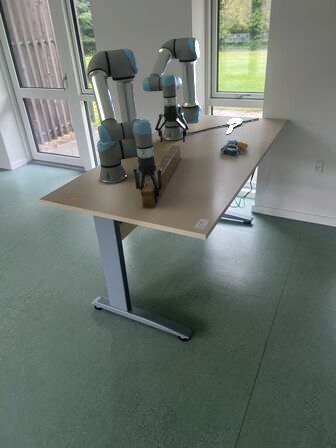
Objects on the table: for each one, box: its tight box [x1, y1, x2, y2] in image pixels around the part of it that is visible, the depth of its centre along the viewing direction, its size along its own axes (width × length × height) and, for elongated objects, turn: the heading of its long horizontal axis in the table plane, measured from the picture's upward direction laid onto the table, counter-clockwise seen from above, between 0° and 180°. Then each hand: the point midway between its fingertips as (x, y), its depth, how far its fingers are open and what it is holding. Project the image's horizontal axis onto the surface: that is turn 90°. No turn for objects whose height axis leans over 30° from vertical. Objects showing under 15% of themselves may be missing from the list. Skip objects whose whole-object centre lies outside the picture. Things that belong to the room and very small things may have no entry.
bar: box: [140, 145, 181, 209], centre depth 182 cm, size 64×5×9 cm, turn 167°
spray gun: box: [220, 139, 249, 156], centre depth 214 cm, size 21×4×15 cm
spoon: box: [226, 117, 243, 135], centre depth 260 cm, size 35×11×2 cm, turn 159°
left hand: (151, 201), depth 162 cm, fingers closed on bar, 5 cm apart
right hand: (172, 141), depth 199 cm, fingers open, 13 cm apart
